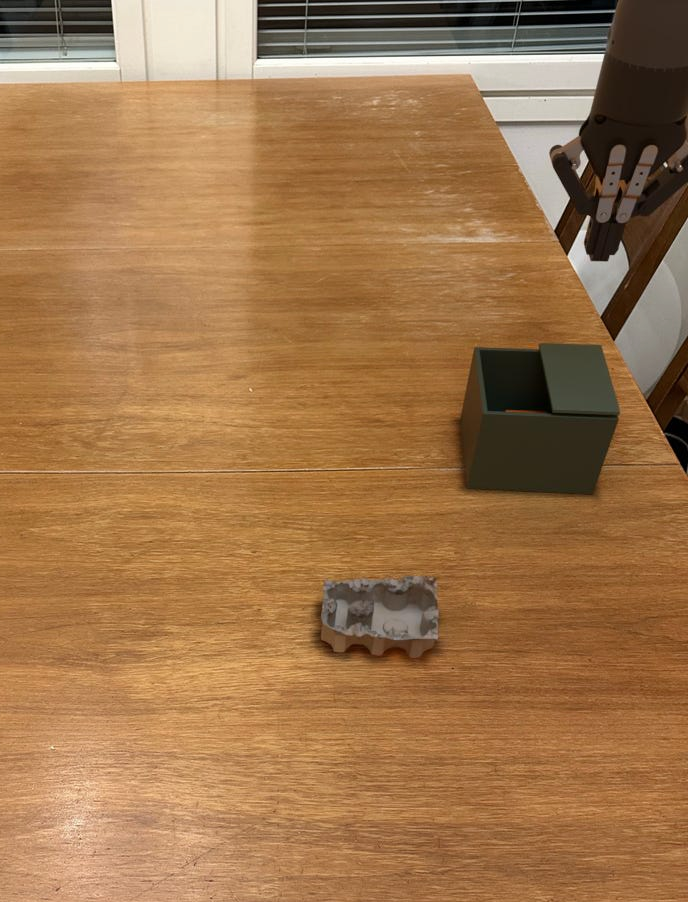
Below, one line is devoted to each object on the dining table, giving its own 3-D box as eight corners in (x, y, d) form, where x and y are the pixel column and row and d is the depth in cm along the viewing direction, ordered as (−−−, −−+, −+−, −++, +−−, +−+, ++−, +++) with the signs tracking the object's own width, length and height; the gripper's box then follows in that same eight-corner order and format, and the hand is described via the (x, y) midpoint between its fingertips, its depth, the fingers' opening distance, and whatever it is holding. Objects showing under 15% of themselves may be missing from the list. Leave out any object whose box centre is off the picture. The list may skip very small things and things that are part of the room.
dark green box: (577, 425, 110) (600, 351, 103) (592, 494, 102) (619, 419, 95) (459, 420, 111) (474, 346, 104) (466, 488, 103) (483, 413, 96)
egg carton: (435, 606, 92) (442, 575, 89) (433, 666, 87) (441, 635, 84) (322, 593, 94) (325, 562, 91) (314, 652, 89) (317, 621, 86)
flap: (600, 348, 103) (601, 344, 102) (619, 415, 95) (620, 411, 95) (538, 346, 103) (539, 342, 103) (552, 412, 95) (553, 409, 95)
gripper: (576, 63, 75) (528, 276, 88) (757, 64, 74) (681, 280, 87) (563, 30, 80) (519, 236, 93) (733, 30, 79) (664, 239, 91)
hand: (597, 257), depth 90 cm, fingers closed
